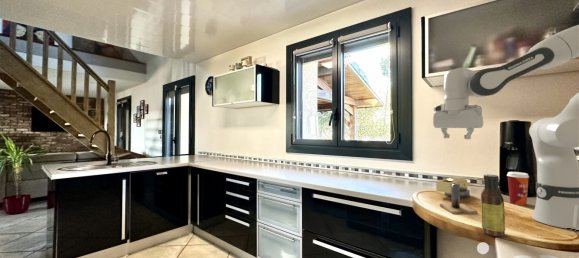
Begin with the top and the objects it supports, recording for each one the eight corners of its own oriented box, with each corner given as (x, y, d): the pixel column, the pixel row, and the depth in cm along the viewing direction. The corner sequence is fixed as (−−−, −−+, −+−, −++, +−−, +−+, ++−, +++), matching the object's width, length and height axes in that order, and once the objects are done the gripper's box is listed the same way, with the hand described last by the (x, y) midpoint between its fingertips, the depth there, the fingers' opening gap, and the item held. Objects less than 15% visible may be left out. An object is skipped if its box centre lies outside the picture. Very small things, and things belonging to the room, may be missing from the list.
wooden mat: (462, 205, 115) (462, 203, 115) (477, 213, 105) (477, 211, 105) (439, 205, 115) (439, 203, 115) (452, 213, 105) (452, 211, 105)
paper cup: (525, 207, 110) (525, 175, 110) (504, 202, 117) (503, 172, 117) (532, 204, 114) (532, 173, 114) (511, 200, 121) (510, 170, 121)
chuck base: (461, 192, 136) (461, 186, 136) (475, 198, 125) (474, 192, 125) (440, 192, 137) (440, 186, 137) (451, 198, 126) (451, 192, 126)
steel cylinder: (455, 205, 112) (455, 183, 112) (461, 207, 109) (461, 184, 109) (449, 206, 111) (449, 183, 111) (455, 208, 109) (455, 185, 108)
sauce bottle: (509, 238, 82) (508, 177, 82) (488, 237, 84) (487, 177, 83) (497, 229, 89) (496, 173, 89) (477, 228, 90) (476, 173, 90)
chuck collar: (452, 185, 137) (452, 176, 137) (471, 189, 129) (470, 179, 129) (434, 190, 130) (434, 180, 130) (452, 194, 122) (452, 183, 122)
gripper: (487, 104, 98) (487, 139, 99) (440, 107, 118) (441, 137, 118) (475, 104, 97) (476, 140, 97) (430, 108, 116) (431, 138, 116)
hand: (456, 138), depth 108 cm, fingers open, 8 cm apart
